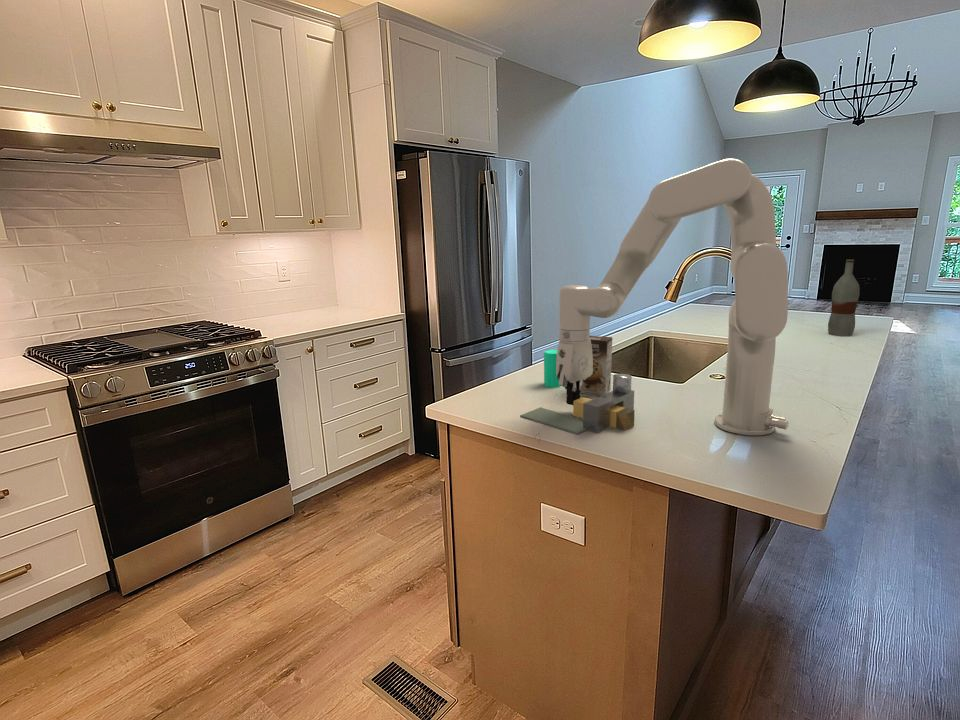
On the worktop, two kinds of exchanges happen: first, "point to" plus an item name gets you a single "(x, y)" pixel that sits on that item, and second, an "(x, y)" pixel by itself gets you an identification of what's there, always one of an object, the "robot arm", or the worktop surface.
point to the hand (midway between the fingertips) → (573, 404)
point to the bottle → (844, 303)
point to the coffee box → (599, 367)
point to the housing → (608, 404)
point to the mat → (556, 420)
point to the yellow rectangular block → (618, 415)
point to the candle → (550, 369)
